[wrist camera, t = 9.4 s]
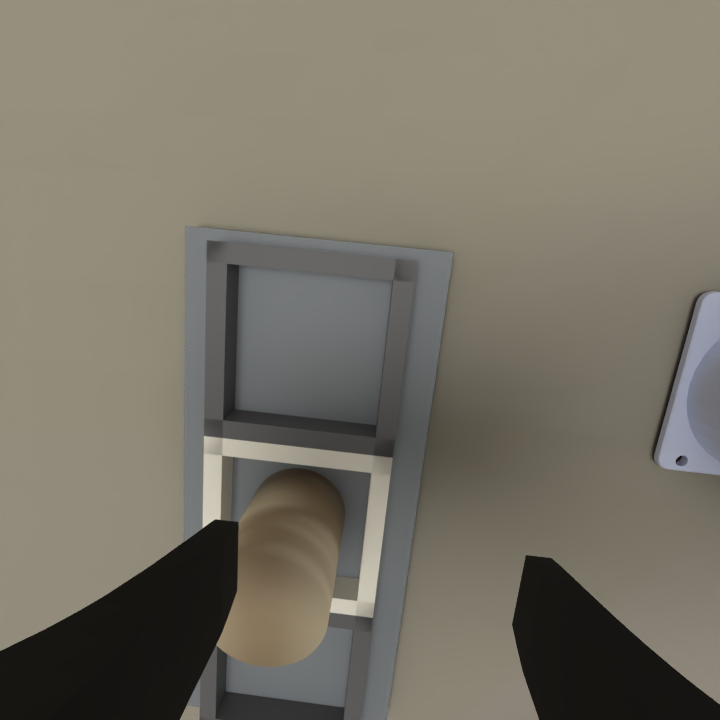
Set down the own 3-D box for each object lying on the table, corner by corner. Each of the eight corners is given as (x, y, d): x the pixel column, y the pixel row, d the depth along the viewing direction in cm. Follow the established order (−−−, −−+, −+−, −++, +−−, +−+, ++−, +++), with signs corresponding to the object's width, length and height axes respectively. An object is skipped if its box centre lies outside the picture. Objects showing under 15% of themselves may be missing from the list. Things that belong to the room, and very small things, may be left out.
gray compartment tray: (448, 253, 18) (459, 251, 16) (384, 709, 24) (385, 762, 21) (197, 228, 19) (168, 222, 16) (193, 683, 24) (170, 732, 22)
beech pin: (349, 474, 19) (334, 565, 14) (340, 557, 20) (322, 674, 15) (254, 462, 20) (199, 547, 14) (250, 545, 21) (197, 657, 15)
